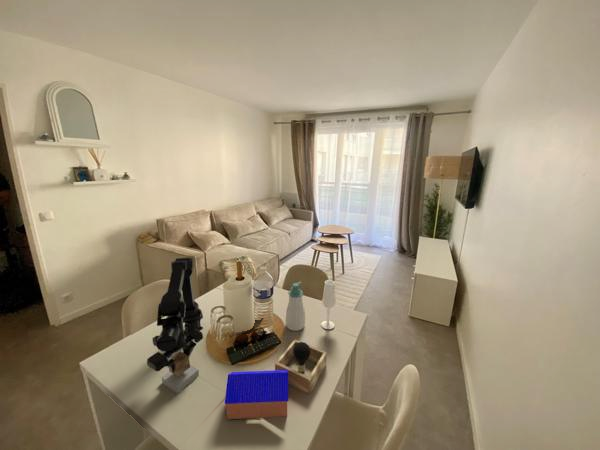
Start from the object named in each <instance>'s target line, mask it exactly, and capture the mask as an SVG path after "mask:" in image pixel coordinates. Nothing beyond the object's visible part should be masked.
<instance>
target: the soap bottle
mask: <svg viewBox="0 0 600 450" xmlns="http://www.w3.org/2000/svg"><path fill="white" fill-rule="evenodd" d="M302 283H303V282H302V281H298V282H295V283H292V287H291V288H290V290H289V291H288V293H287V294H288V304H287V307H286V310H285V325H286V328H288V330H290V331H293V332H294V331H296V332H297V331H300V330H302V329H304V328H305V326H306V325H305V324H306V312H305V307H304V302H303V295H304V291H303V290H302V289H301V287H300V285H301V284H302Z"/></svg>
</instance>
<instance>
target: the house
mask: <svg viewBox="0 0 600 450" xmlns="http://www.w3.org/2000/svg"><path fill="white" fill-rule="evenodd" d="M288 402H289V383H288V370H275V369H274V370H250V371H232V372H230V373H229V374H227V381H226V390H225V397H224V404H225V406H226V407H225V410H226V419H227V420H238V419H258V418H259V419H260V418H267V417H268V418H269V417H270V418H271V417H288Z"/></svg>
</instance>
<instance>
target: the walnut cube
mask: <svg viewBox="0 0 600 450" xmlns="http://www.w3.org/2000/svg"><path fill="white" fill-rule="evenodd" d="M171 358H172V359H173V360H174V361H175V371H174V373H173V372H171V370H170V369H169V368H168V372H169V371H170V372H171V373H173V374H175V375H176V376H180V375H181V374H182V373H183V372H185V371H186V370H187V369H188V368H190V365H191V362H190V357H189V356H188V355H186V354H184V353H183V351H181V350H179V351H177V352H176V353H174V354H173V355H172V356H171Z"/></svg>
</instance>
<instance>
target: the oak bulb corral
mask: <svg viewBox="0 0 600 450" xmlns="http://www.w3.org/2000/svg"><path fill="white" fill-rule="evenodd" d="M299 342H301V341H300V340H297V339H294V340H293V341H292V342H291V343H290V344H289V346H288V347H287V348H286V349H285V351H284V352H283V353H282V354H281V356H280V357H279V358H277V360H276V362H275V363H274V371H275V370H288V385H291V386H294V387H295V388H297V389H299V390H301V391H303V392H305V393H307V394H309V395H311V393H312V391H313V389H314V388H315V385H316V384H317V382H318V380H319V378H320V377H321V375H322V373H323V371H324V369H325V367H326V366H327V357H328V355H327V353H328V352H326V351H324V350H323V349H319V348H317V347H315V346H311V345H309V344H307V345H308V346H309V348H310V356H309V358H308V359H307V360H309V361H312V362H314V363H316V365H315V366H314V368H313V370H312V371H311V373H310V375H309V376H307V375H306V374H303V372H299V371H297V370H296V369H293V368H292V367H288V366H287V365H288V364H289V363H290V361H291V360H292V359H293V357H294V354H293V349H294V346H295V345H296V344H297V343H299Z"/></svg>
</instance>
